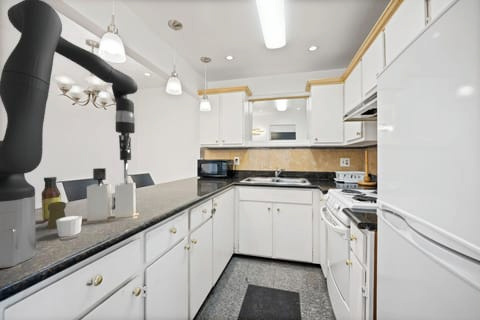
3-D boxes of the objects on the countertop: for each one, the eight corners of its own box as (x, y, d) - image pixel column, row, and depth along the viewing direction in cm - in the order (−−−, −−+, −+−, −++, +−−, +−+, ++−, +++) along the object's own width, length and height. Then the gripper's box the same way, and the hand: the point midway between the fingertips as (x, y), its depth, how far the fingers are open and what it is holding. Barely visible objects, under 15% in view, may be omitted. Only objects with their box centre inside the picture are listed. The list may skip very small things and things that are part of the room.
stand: (136, 221, 84) (136, 218, 84) (81, 227, 76) (81, 224, 76) (139, 215, 93) (139, 212, 93) (90, 220, 86) (90, 216, 86)
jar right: (133, 217, 85) (133, 184, 84) (115, 219, 82) (115, 185, 82) (135, 213, 91) (135, 182, 91) (118, 214, 88) (118, 183, 88)
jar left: (107, 220, 81) (106, 185, 81) (87, 222, 78) (86, 186, 78) (111, 215, 87) (111, 183, 87) (93, 217, 85) (92, 184, 85)
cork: (66, 225, 78) (65, 199, 78) (68, 229, 75) (68, 201, 75) (45, 230, 74) (45, 202, 74) (47, 234, 70) (46, 204, 70)
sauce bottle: (65, 218, 88) (65, 176, 88) (50, 223, 82) (50, 177, 81) (53, 218, 89) (52, 176, 88) (37, 222, 82) (36, 177, 82)
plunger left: (105, 215, 81) (104, 168, 81) (90, 217, 80) (90, 169, 79) (108, 212, 86) (107, 168, 86) (95, 213, 84) (94, 168, 84)
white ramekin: (63, 243, 63) (63, 222, 63) (51, 239, 65) (51, 219, 65) (86, 235, 69) (86, 216, 69) (75, 232, 71) (74, 214, 71)
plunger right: (131, 194, 85) (130, 149, 85) (118, 194, 83) (117, 148, 83) (132, 192, 90) (132, 149, 89) (120, 193, 88) (120, 149, 88)
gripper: (132, 120, 81) (132, 159, 81) (136, 125, 94) (136, 159, 94) (111, 118, 78) (111, 159, 78) (119, 124, 91) (119, 159, 92)
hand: (125, 159), depth 86 cm, fingers open, 5 cm apart
